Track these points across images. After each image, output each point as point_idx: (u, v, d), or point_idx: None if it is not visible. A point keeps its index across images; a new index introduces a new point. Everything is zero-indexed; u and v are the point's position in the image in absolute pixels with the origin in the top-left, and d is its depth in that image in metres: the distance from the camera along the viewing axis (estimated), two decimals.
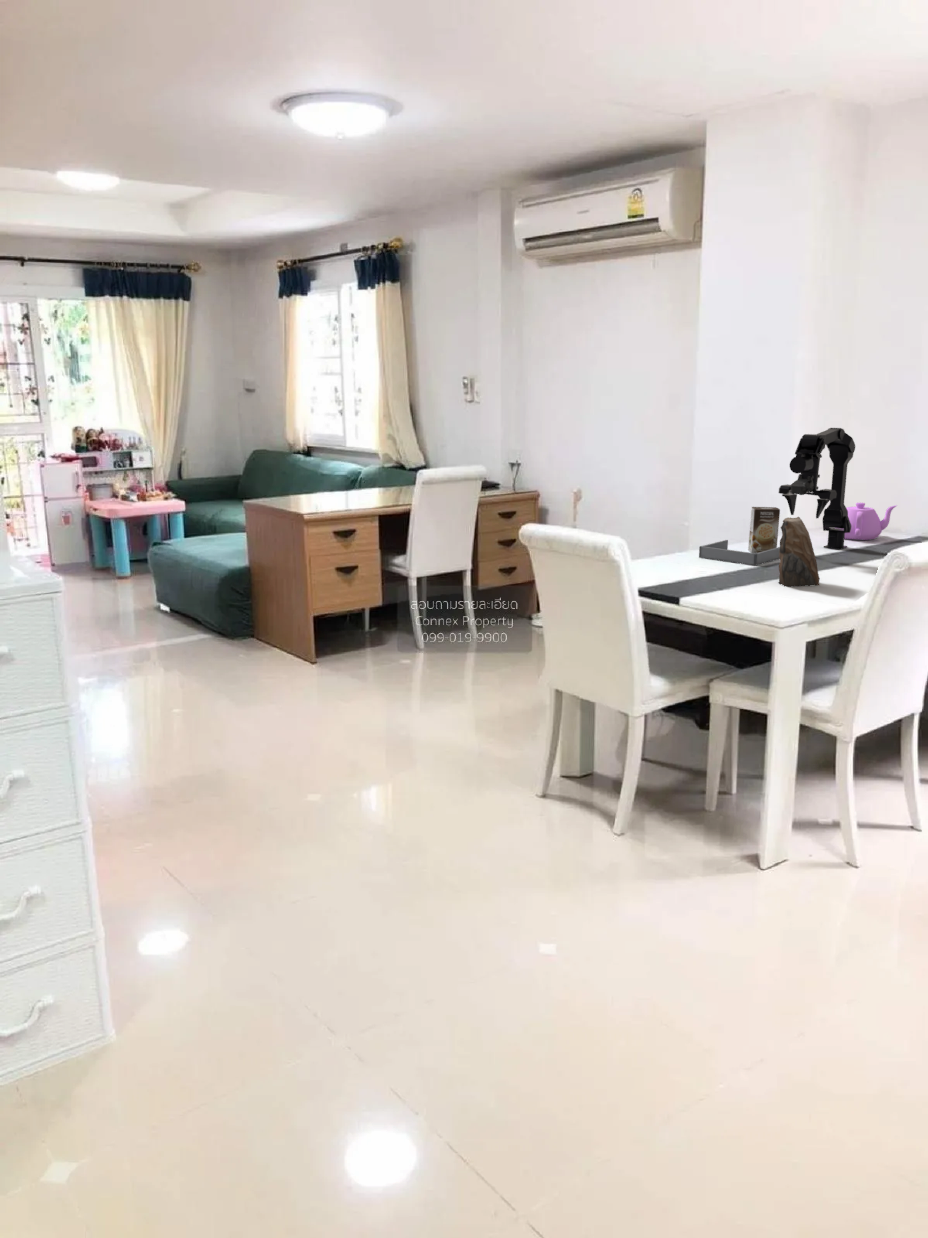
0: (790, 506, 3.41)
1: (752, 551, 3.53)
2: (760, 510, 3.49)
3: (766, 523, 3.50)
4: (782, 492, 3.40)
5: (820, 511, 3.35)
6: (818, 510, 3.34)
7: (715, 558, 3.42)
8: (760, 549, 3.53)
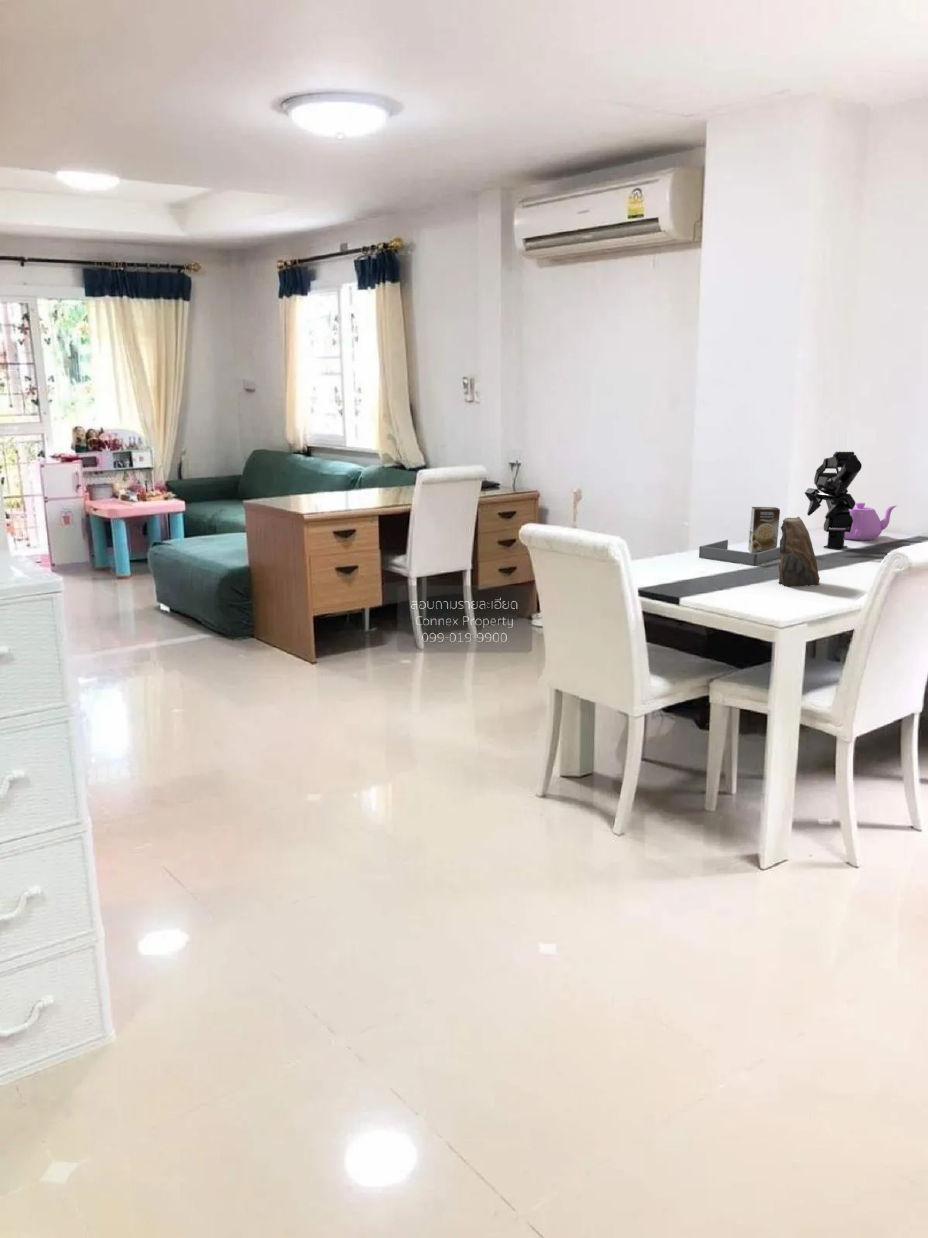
0: (810, 506, 3.51)
1: (752, 551, 3.53)
2: (760, 510, 3.49)
3: (766, 523, 3.50)
4: (808, 491, 3.54)
5: (831, 513, 3.44)
6: (830, 510, 3.44)
7: (715, 558, 3.42)
8: (760, 549, 3.53)
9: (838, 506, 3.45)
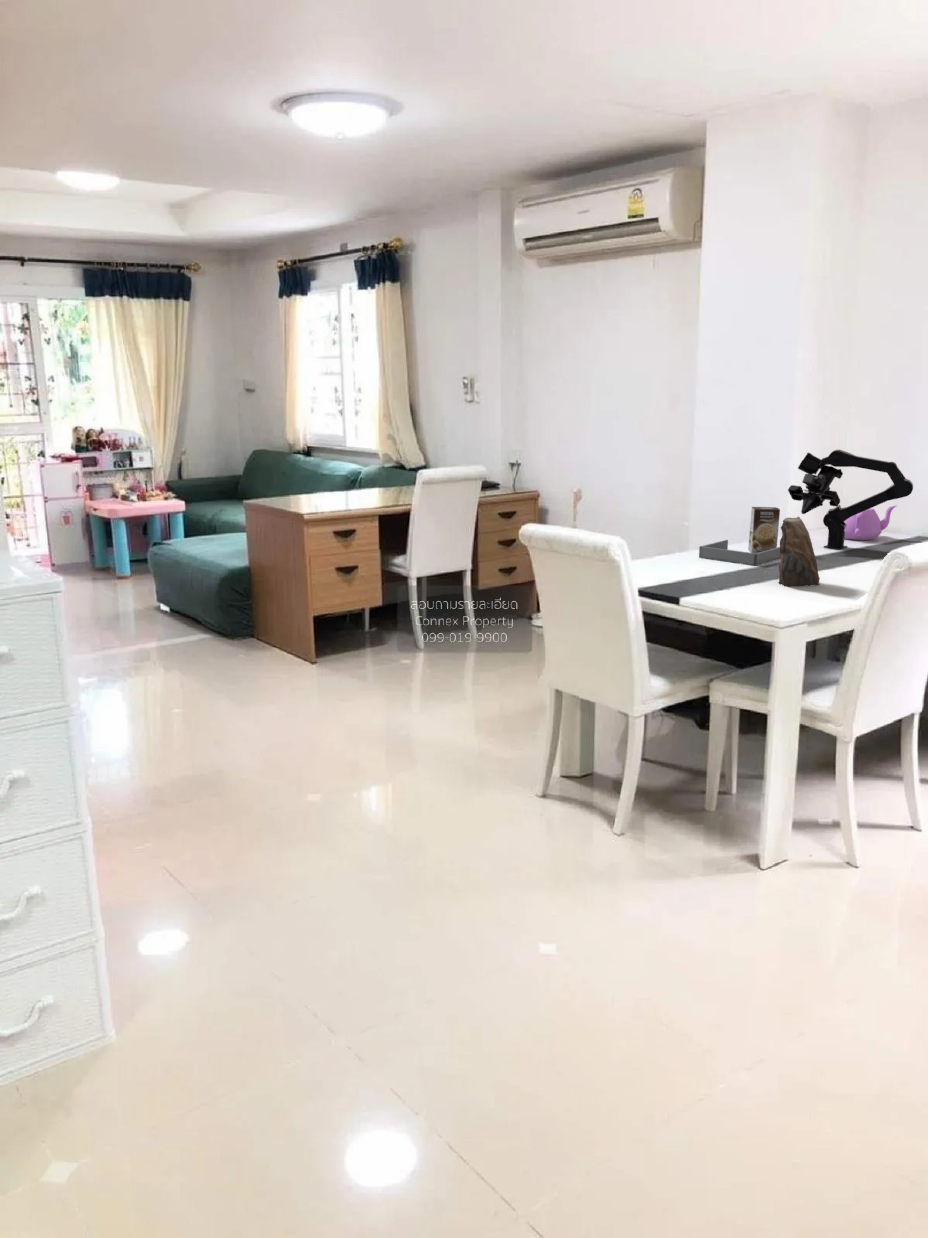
0: (804, 504, 3.54)
1: (752, 551, 3.53)
2: (760, 510, 3.49)
3: (766, 523, 3.50)
4: (791, 488, 3.59)
5: (808, 508, 3.53)
6: (807, 505, 3.52)
7: (715, 558, 3.42)
8: (760, 549, 3.53)
9: (814, 502, 3.54)
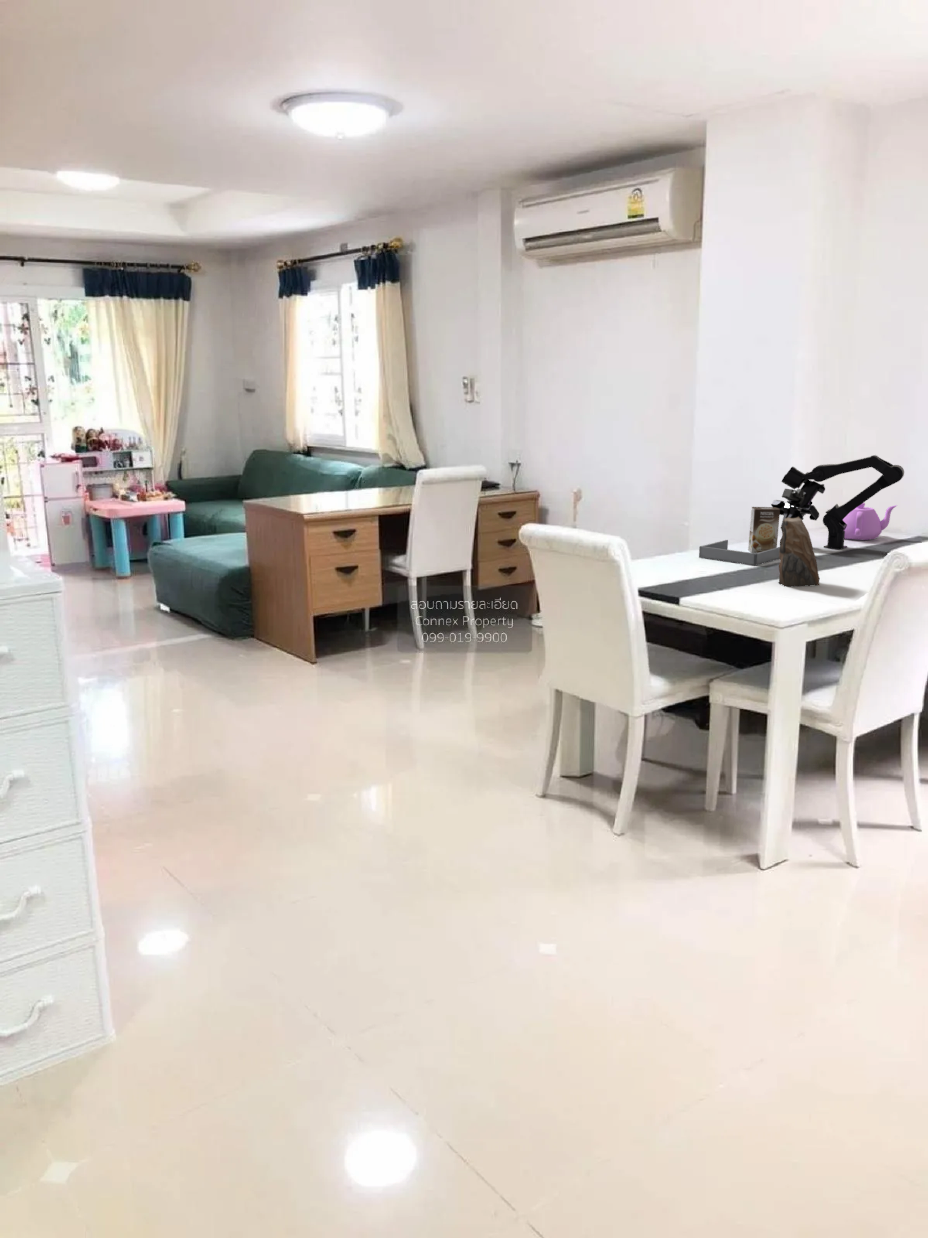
0: (784, 518, 3.59)
1: (752, 551, 3.53)
2: (760, 510, 3.49)
3: (766, 523, 3.50)
4: (774, 503, 3.65)
5: None
6: None
7: (715, 558, 3.42)
8: (760, 549, 3.53)
9: (794, 516, 3.59)
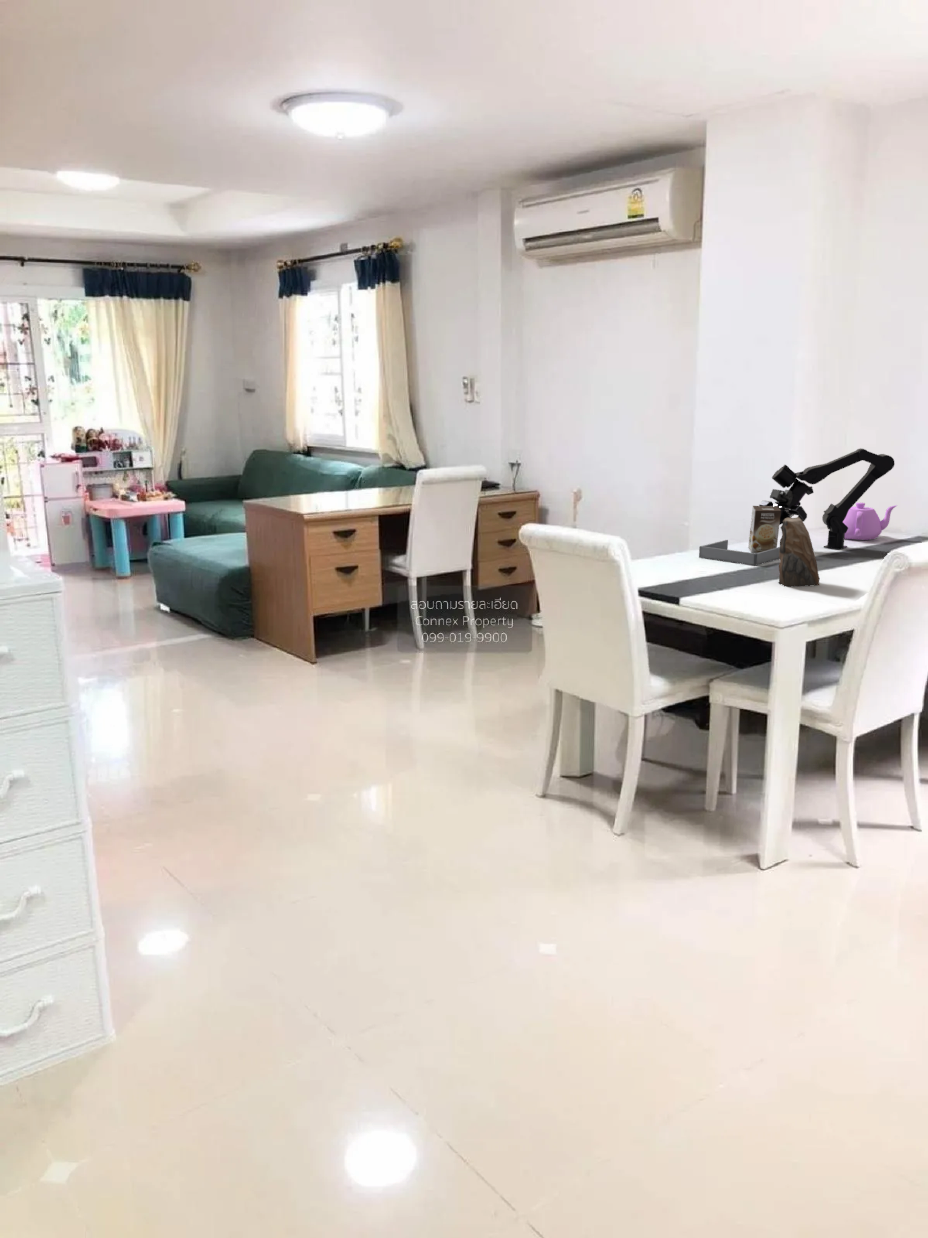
0: None
1: (752, 551, 3.53)
2: (761, 511, 3.47)
3: (766, 524, 3.49)
4: (762, 504, 3.62)
5: None
6: None
7: (715, 558, 3.42)
8: (760, 549, 3.52)
9: (782, 517, 3.56)
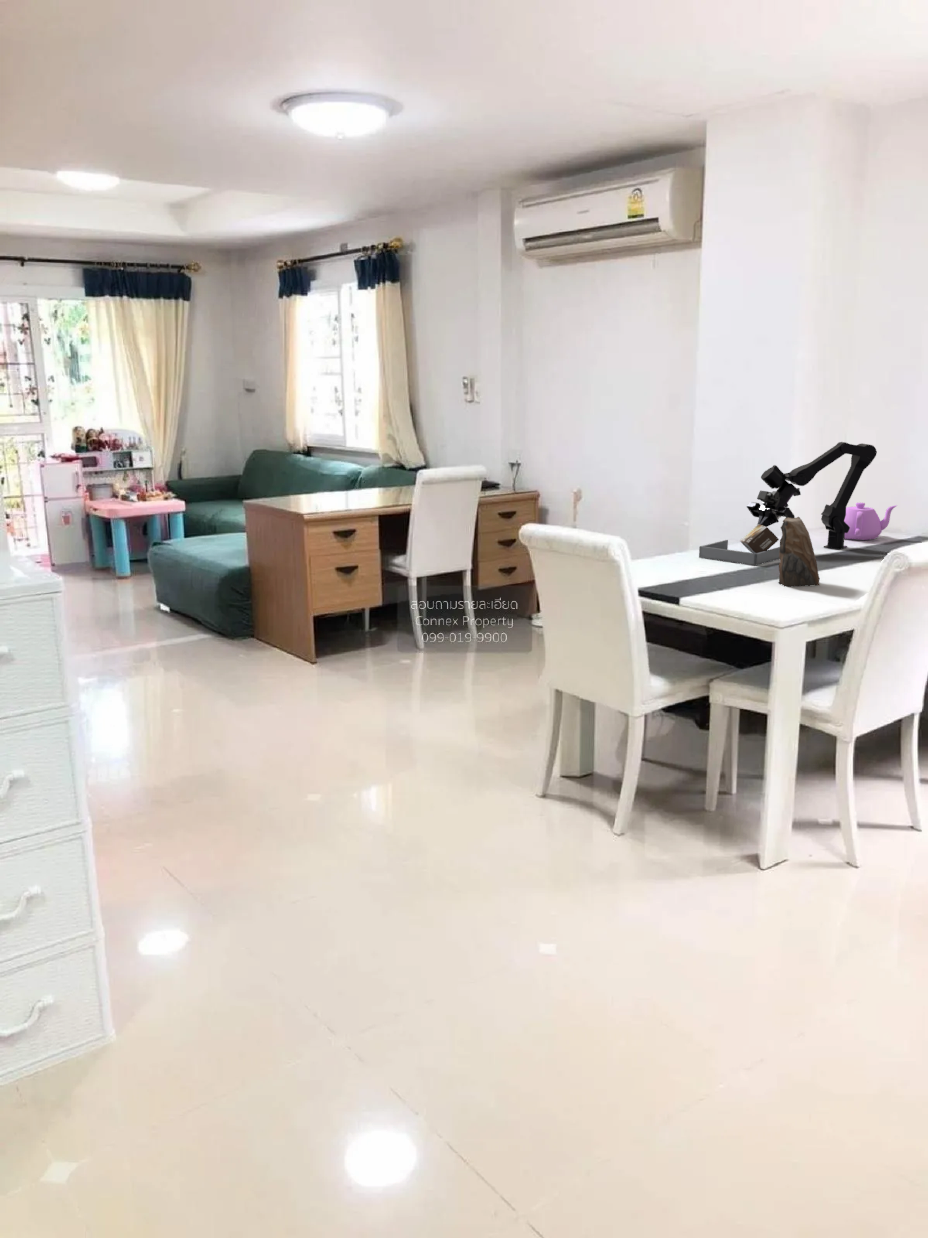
0: (759, 521, 3.53)
1: None
2: None
3: None
4: (750, 505, 3.59)
5: (763, 525, 3.52)
6: (762, 522, 3.52)
7: (715, 558, 3.42)
8: None
9: (770, 518, 3.53)
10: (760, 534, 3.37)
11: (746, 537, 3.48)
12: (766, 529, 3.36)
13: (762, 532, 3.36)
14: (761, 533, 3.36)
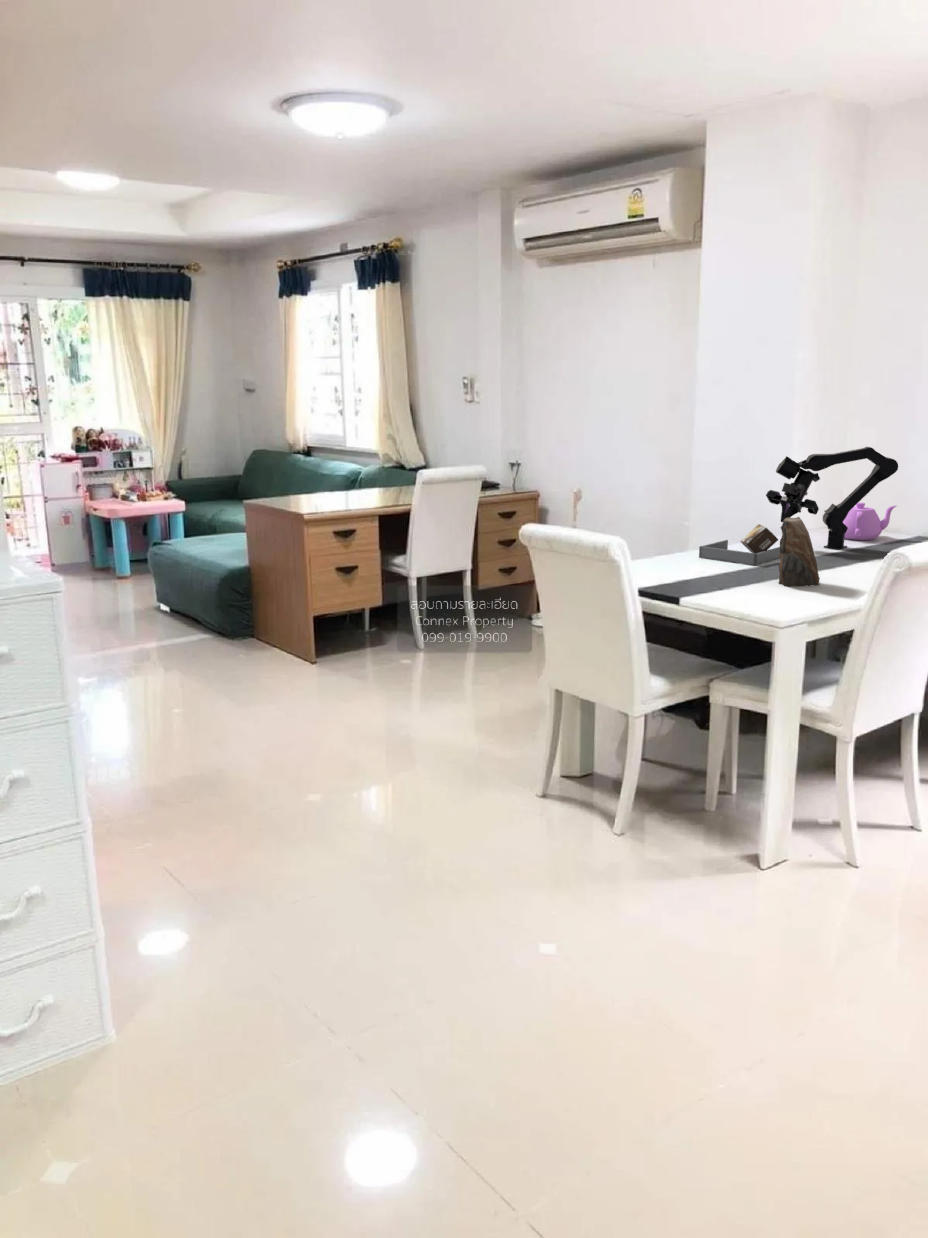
0: (783, 512, 3.55)
1: None
2: None
3: None
4: (770, 494, 3.59)
5: (787, 516, 3.55)
6: (786, 514, 3.54)
7: (715, 558, 3.42)
8: None
9: (793, 509, 3.56)
10: (759, 534, 3.36)
11: (746, 537, 3.48)
12: (765, 529, 3.36)
13: (761, 532, 3.36)
14: (760, 533, 3.36)
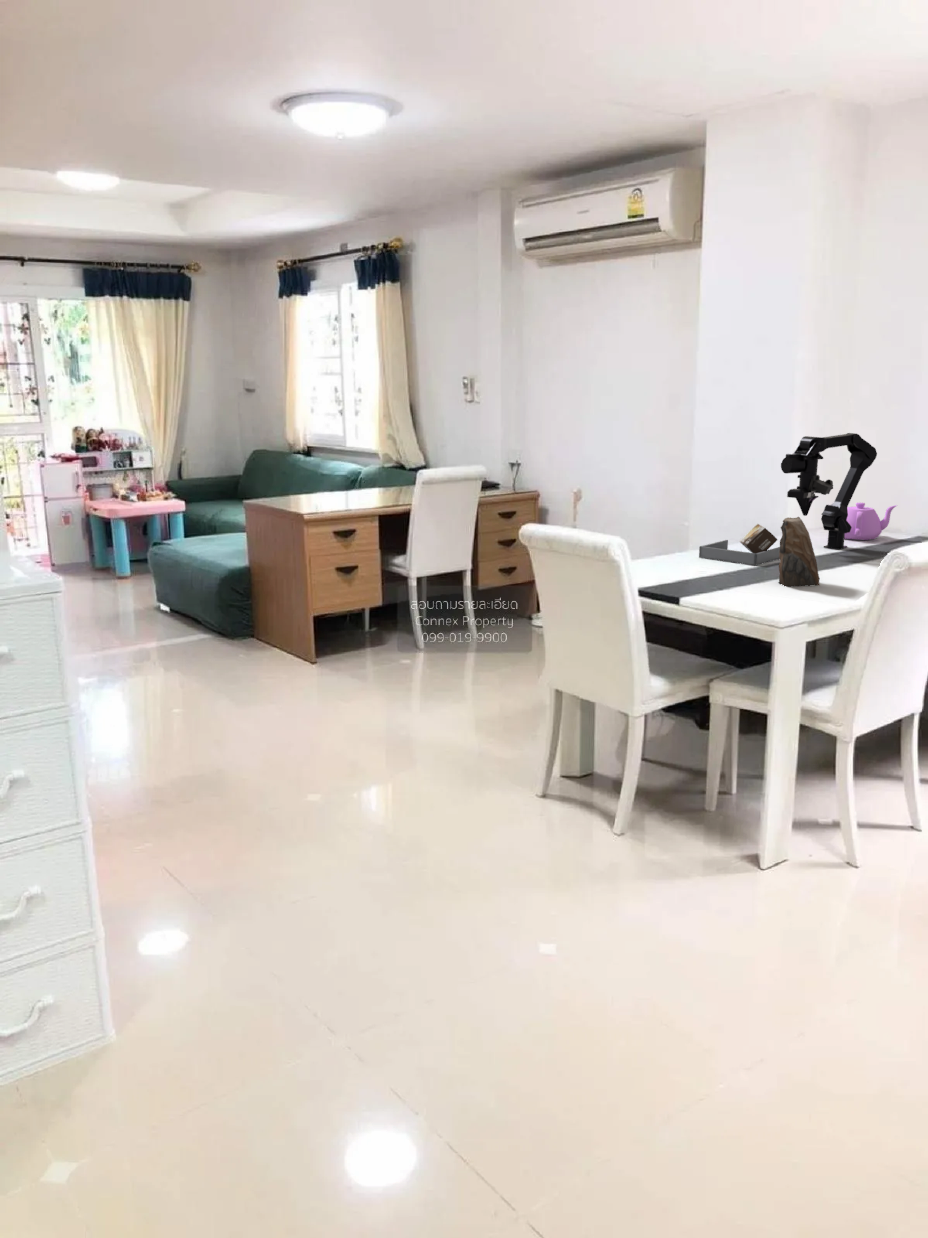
0: (807, 507, 3.51)
1: None
2: None
3: None
4: (805, 496, 3.44)
5: None
6: (809, 507, 3.52)
7: (715, 558, 3.42)
8: None
9: None
10: (758, 535, 3.36)
11: (745, 538, 3.48)
12: (764, 530, 3.36)
13: (760, 533, 3.36)
14: (759, 534, 3.36)
